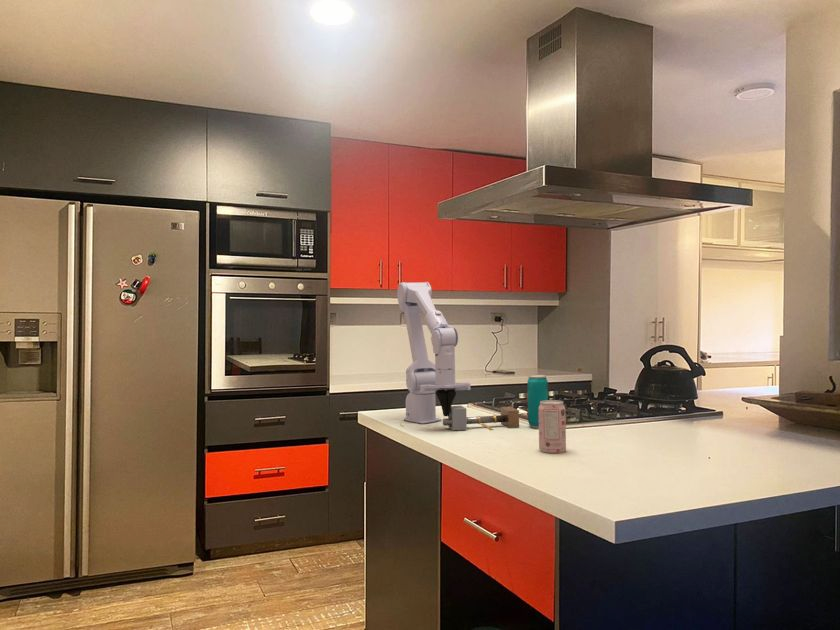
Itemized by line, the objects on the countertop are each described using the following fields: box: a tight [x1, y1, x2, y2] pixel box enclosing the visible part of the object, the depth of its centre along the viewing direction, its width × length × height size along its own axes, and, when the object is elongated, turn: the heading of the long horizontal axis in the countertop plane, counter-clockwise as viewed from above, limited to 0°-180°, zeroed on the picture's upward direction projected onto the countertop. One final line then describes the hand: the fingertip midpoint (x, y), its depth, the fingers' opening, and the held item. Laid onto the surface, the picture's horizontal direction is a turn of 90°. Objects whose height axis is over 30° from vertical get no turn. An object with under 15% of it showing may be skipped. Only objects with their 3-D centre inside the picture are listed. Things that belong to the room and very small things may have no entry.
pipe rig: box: [442, 406, 520, 431], centre depth 188 cm, size 22×9×5 cm, turn 101°
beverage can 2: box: [538, 399, 567, 454], centre depth 157 cm, size 6×6×12 cm
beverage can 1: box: [527, 374, 549, 430], centre depth 186 cm, size 6×6×15 cm
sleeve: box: [447, 404, 468, 431], centre depth 186 cm, size 4×6×6 cm, turn 11°
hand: (446, 415), depth 186 cm, fingers closed
